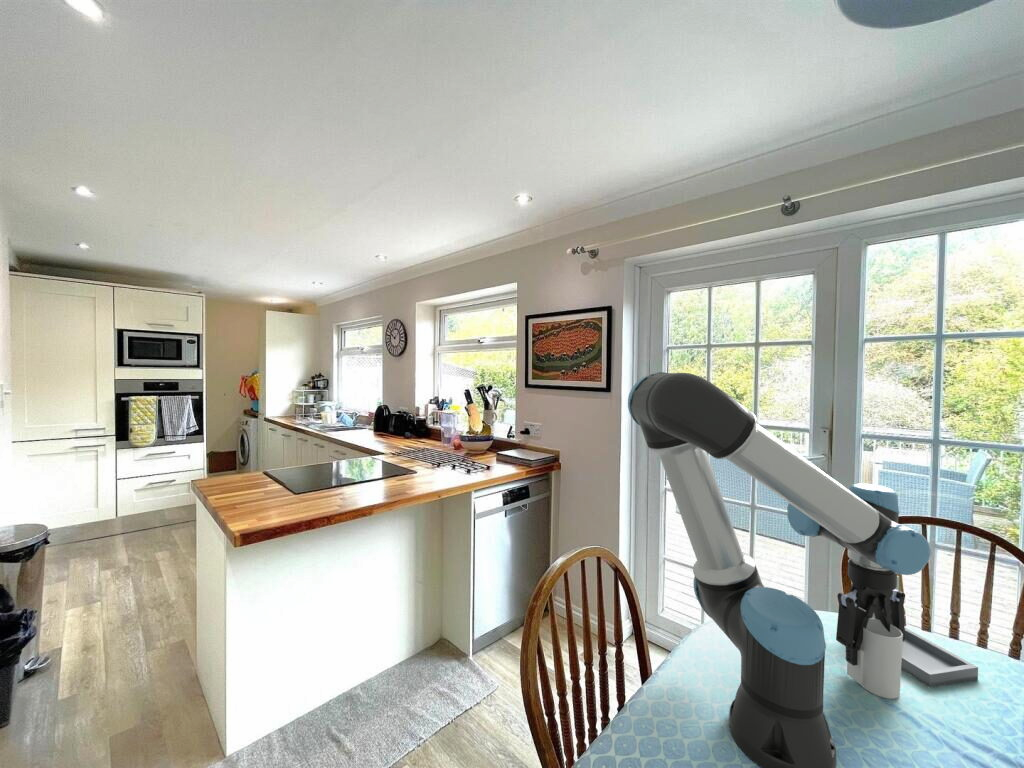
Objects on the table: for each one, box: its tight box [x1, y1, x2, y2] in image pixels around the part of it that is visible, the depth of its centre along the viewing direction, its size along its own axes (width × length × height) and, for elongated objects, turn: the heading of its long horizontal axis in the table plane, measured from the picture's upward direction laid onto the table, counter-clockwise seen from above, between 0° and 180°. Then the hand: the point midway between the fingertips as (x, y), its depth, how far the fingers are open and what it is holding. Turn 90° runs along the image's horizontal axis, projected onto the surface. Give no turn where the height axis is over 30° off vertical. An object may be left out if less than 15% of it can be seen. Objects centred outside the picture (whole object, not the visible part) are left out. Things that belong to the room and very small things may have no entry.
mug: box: [860, 618, 903, 700], centre depth 85 cm, size 10×7×12 cm, turn 17°
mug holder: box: [859, 575, 979, 689], centre depth 92 cm, size 12×16×14 cm
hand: (869, 676), depth 85 cm, fingers closed on mug, 6 cm apart
